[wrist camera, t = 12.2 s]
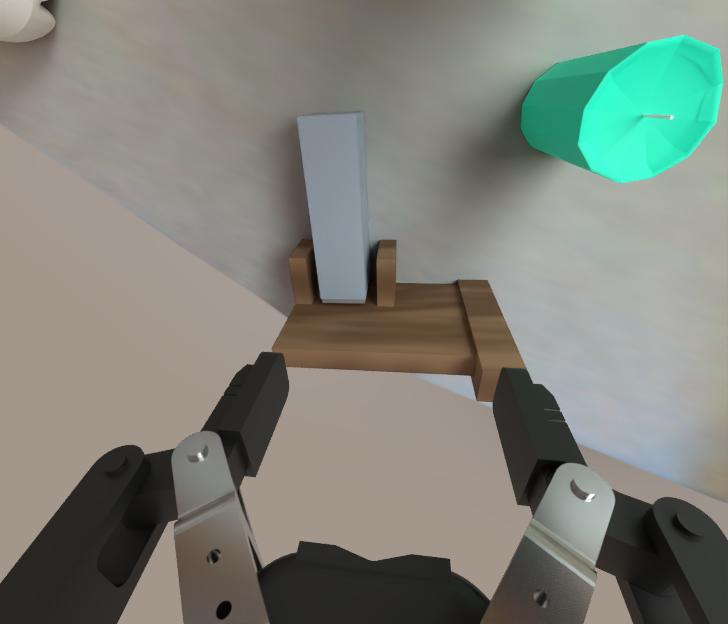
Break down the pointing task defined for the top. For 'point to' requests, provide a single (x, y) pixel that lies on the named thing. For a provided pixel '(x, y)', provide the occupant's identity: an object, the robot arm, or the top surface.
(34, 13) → the water bottle
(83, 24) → the top surface
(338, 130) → the light blue rectangular bar
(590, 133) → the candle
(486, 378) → the wooden holder stand
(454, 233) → the top surface
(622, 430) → the top surface
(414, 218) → the top surface
